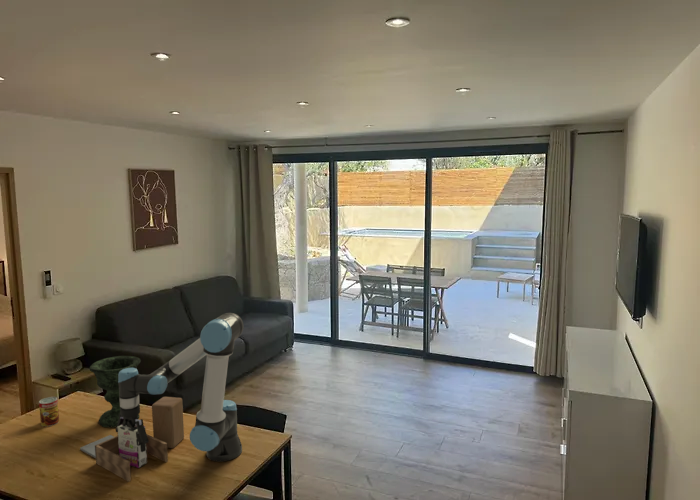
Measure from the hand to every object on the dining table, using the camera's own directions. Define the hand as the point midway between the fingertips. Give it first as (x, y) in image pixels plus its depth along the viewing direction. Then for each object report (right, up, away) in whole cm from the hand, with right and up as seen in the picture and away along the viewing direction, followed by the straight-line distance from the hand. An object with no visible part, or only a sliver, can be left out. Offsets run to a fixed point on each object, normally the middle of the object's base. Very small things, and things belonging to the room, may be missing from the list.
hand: (132, 453), depth 205 cm
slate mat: (-19, -3, +13) cm, 23 cm away
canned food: (-58, -1, +37) cm, 69 cm away
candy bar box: (0, -4, +1) cm, 4 cm away
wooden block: (+9, -2, +17) cm, 20 cm away
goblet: (-25, 0, +40) cm, 47 cm away
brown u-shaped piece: (0, -4, +1) cm, 4 cm away
